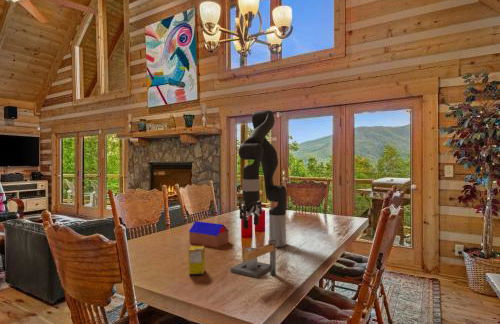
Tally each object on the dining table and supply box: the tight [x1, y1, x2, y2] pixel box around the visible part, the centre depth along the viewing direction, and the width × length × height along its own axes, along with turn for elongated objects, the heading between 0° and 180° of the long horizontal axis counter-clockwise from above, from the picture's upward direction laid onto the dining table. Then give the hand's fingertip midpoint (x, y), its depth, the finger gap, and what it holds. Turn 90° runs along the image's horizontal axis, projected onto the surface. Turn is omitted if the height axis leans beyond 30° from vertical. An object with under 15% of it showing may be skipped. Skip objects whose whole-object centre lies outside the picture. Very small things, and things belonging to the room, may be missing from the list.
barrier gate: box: [243, 239, 277, 276], centre depth 124 cm, size 4×19×14 cm, turn 140°
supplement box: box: [188, 245, 206, 276], centre depth 133 cm, size 6×6×11 cm
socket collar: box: [230, 260, 270, 279], centre depth 136 cm, size 13×13×2 cm
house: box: [188, 220, 230, 248], centre depth 180 cm, size 12×20×12 cm, turn 61°
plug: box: [245, 247, 258, 270], centre depth 136 cm, size 5×5×9 cm
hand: (251, 226), depth 136 cm, fingers open, 8 cm apart
